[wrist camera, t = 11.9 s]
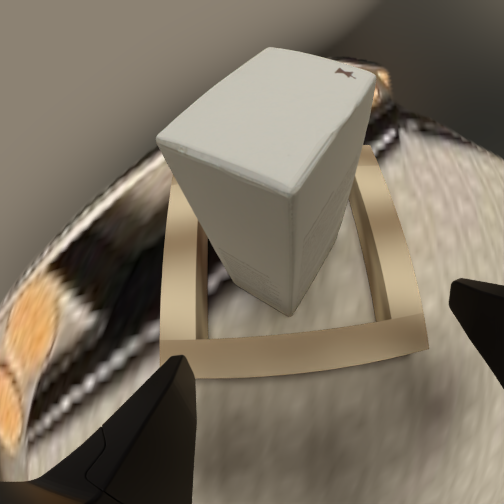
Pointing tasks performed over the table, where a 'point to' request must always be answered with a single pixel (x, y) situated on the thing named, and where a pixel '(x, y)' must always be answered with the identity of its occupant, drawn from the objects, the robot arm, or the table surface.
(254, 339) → the wooden picture frame
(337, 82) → the skincare box
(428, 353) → the table surface
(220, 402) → the table surface
